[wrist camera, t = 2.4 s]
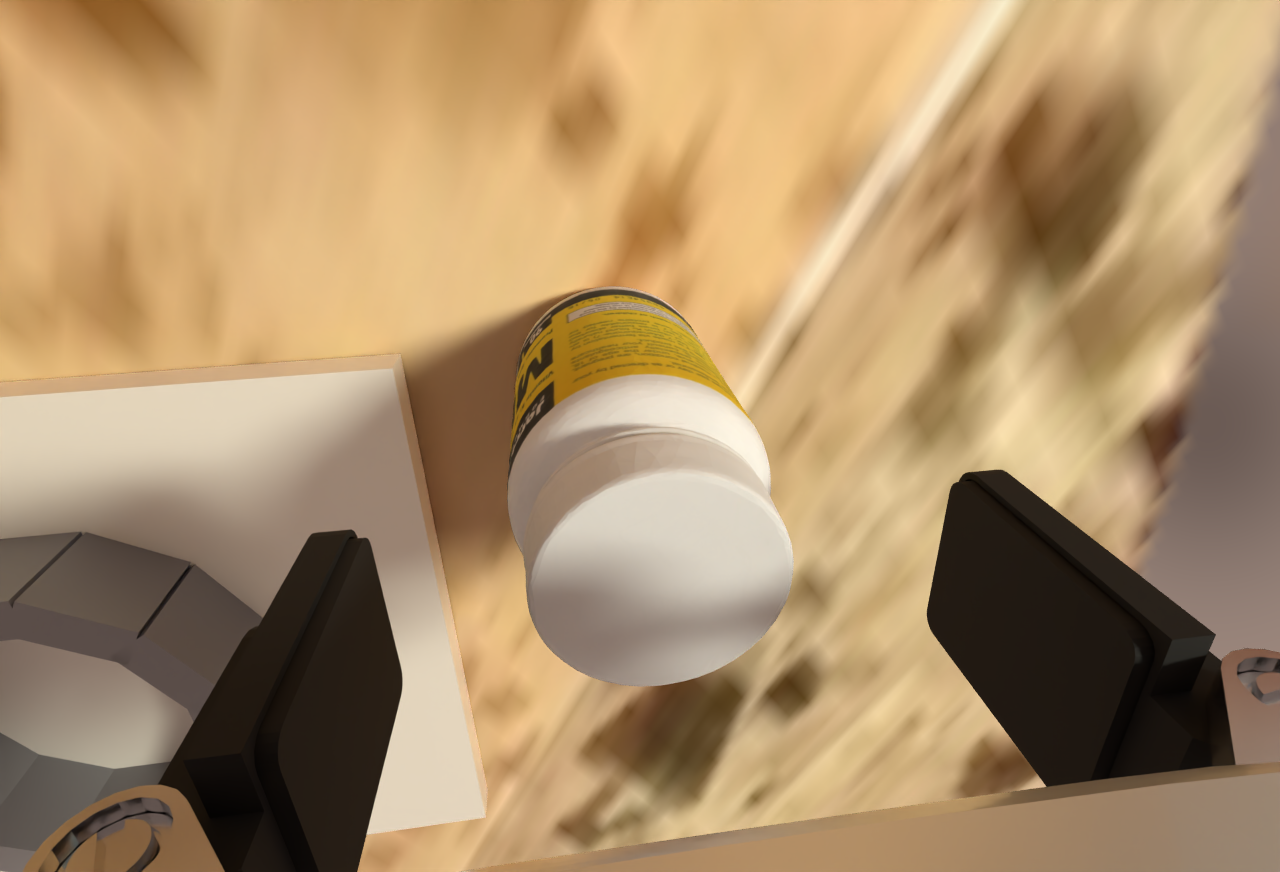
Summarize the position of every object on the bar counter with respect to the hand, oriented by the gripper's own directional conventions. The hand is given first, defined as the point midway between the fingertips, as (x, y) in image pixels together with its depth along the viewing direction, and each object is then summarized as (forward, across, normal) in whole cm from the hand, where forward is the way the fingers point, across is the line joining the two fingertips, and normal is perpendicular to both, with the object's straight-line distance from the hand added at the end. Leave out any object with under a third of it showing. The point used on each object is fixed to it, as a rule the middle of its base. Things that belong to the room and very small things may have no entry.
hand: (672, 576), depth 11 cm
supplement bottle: (+8, 0, -1) cm, 8 cm away
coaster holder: (+7, +14, +6) cm, 17 cm away
